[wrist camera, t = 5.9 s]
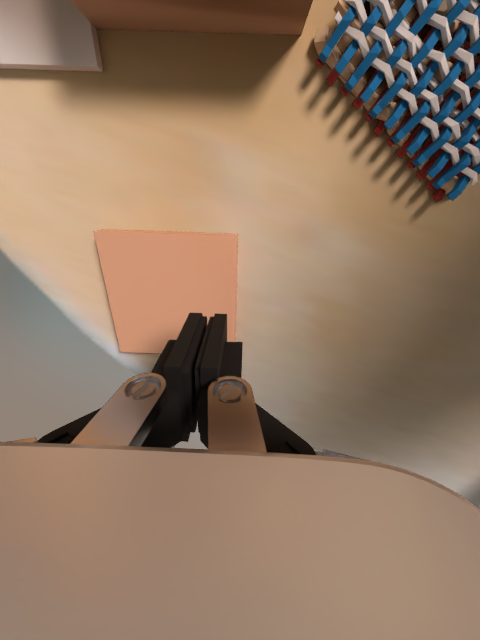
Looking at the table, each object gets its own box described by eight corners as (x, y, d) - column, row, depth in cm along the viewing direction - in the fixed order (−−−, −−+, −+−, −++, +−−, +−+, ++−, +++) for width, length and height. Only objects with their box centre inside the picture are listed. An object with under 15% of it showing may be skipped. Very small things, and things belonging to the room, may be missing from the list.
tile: (238, 232, 15) (107, 227, 15) (237, 236, 14) (93, 231, 14) (235, 343, 19) (129, 339, 19) (234, 356, 17) (120, 351, 17)
